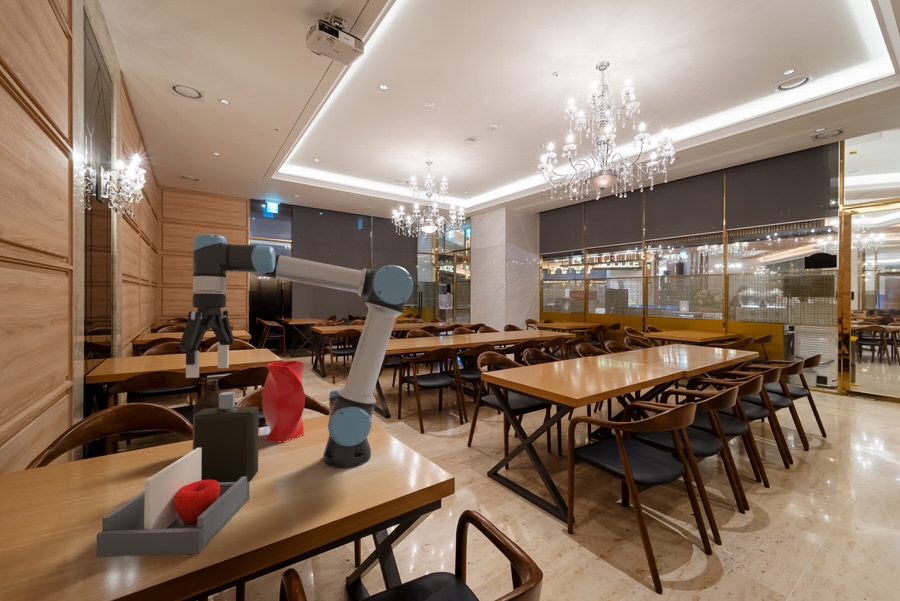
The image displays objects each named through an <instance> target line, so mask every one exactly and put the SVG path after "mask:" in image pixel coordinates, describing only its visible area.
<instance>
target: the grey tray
mask: <svg viewBox="0 0 900 601" xmlns="http://www.w3.org/2000/svg"><path fill="white" fill-rule="evenodd" d="M218 483H219V485H220V495H219V498H218V499H217V500H216V501H215V502H214V503H213V504H212V505H211V506H210V507H209V508H208V509H207V510H205V511H204V512H203V513H202V514H201V515H200V516H199V517H198V518H197V522H196V523H192V524H187V523H184V522H183V521H182V520H181V519H180V518H178V519H177V520H176V521H174V522H173V523H172V524H171V525H170V526H169V527H167V528H166V529H144V511H145V490H143V491H142V492H140V493H139V494H137V495H135V496H134V497H132V498H131V499H130V500H128V501H127V502H125V503H124V504H122V505H120V506H119V507H117V508H116V509H114V510H113V511H111V512H109V513H108V514H106V515H105V516H104V517H102V525H101V526H102V527H101V529H102V530H101V531H99V532H98V533H97V534H96V543H95V544H96V551H95V555H96V556H104V557H105V556H106V557H131V556H132V557H134V556H157V555H158V556H160V555H161V556H163V555H164V556H165V555H188V554H189V555H193V554H200V553H201V552H203V550H204V549H205V548H206V547H207V546H208V544H209V543H210V542H211V541H212V540H213V539H214V538H215V537H216V536H217V534H218V533H219V532H220V531H221V530H223V528H224V527H225V526H226V525H227V524H228V523H229V522H230V521H231V520H232V518H233V517H234V516H235V515H236V514H237V513H238V512H239V511H240V509H242V508H243V507H244V505H245V504H246V503H247V502H248V501H249V500H250V482H247V476H242V477H241V478H240V479H239V480H238V481H237V482H218ZM96 556H95V557H96Z"/></svg>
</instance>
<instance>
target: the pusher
mask: <svg viewBox="0 0 900 601" xmlns="http://www.w3.org/2000/svg"><path fill="white" fill-rule="evenodd" d="M201 459H202V448H196V449H195V450H193V449H192V450H191V451H189V453H187V454H185V455H184V456H182V457H181V458H179V459H177V460H176V461H174V462H173V463H171V464H169V465H167V466H166V467H164V468H162V469H161V470H160V471H157V472H156V473H155V474H153V475H151V476H149V477H148V478H147V479H144V491H145V511H144V529H166V528H167V527H169V526H170V525H171V524H172V523H173V522H174V521H176V520H177V519H178V518H179V516H178V514H177V512H176V508H175V496H176V494H177V492H178V490H179V489H180V488H182V487H183V486H185V485H188V484H191V483H194V482H197V481H200V480H201Z"/></svg>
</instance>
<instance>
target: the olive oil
mask: <svg viewBox="0 0 900 601" xmlns="http://www.w3.org/2000/svg"><path fill="white" fill-rule="evenodd" d="M218 380H219V379H214V378H212V379H207V380H206V384H205V385H206V386H205V392H204V393H203V394H202V396H200V397H199V399H197V401H196V402H195V403H194V405H193V408H192V417H193V416H194V414H196V413H198V412H199V411H201V410H203V409H209V408H219V394H220V393H221V392H220V391H219V383H218Z"/></svg>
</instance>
